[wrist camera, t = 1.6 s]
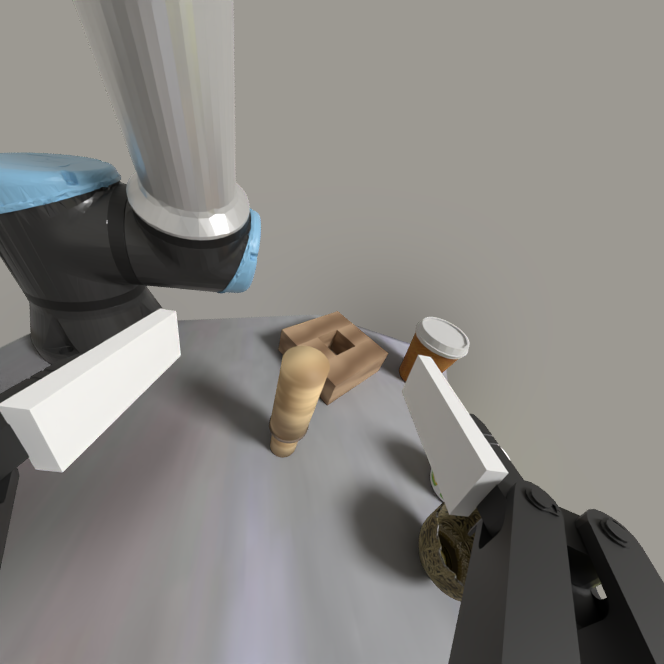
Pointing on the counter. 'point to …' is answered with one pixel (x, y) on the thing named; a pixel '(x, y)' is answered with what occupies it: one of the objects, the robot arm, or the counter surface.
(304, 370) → the leg
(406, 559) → the counter surface
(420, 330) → the disposable coffee cup
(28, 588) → the counter surface
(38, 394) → the robot arm
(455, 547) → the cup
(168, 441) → the counter surface
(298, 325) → the seat block
